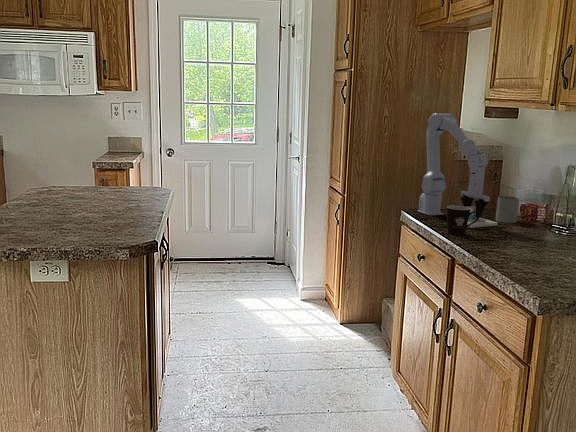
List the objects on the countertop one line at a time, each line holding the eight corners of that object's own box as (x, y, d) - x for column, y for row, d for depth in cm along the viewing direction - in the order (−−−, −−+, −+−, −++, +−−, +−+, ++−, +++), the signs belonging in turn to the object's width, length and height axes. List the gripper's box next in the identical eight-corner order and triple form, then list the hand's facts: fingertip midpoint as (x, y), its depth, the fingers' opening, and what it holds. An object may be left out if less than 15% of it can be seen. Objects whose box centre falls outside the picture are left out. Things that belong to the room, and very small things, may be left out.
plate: (447, 220, 237) (447, 215, 237) (472, 218, 243) (473, 213, 243) (471, 227, 225) (471, 222, 224) (497, 225, 231) (497, 220, 230)
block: (464, 219, 234) (465, 206, 233) (471, 218, 236) (473, 206, 235) (471, 221, 231) (472, 208, 230) (478, 220, 233) (480, 207, 232)
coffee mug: (442, 234, 212) (444, 208, 210) (447, 229, 220) (449, 204, 218) (474, 238, 207) (476, 211, 205) (478, 233, 215) (480, 208, 213)
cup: (517, 223, 236) (520, 200, 234) (497, 222, 237) (499, 198, 235) (514, 219, 244) (516, 196, 242) (494, 218, 246) (496, 195, 244)
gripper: (456, 180, 235) (453, 212, 238) (481, 186, 222) (478, 219, 225) (469, 180, 238) (466, 211, 241) (495, 185, 225) (491, 218, 228)
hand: (472, 215), depth 233 cm, fingers open, 6 cm apart
